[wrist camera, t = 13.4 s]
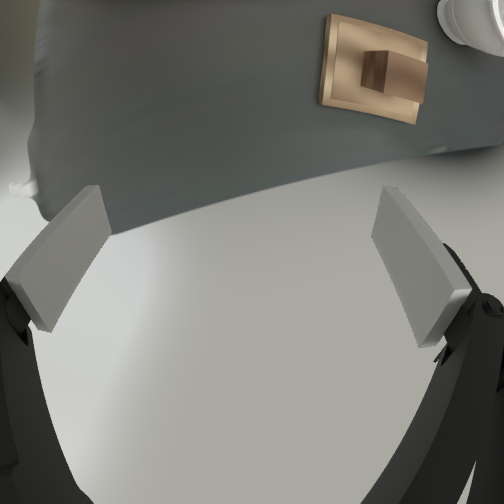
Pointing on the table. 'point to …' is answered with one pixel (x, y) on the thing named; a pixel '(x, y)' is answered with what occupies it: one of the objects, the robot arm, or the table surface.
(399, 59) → the block
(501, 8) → the jar
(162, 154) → the table surface
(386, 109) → the base
